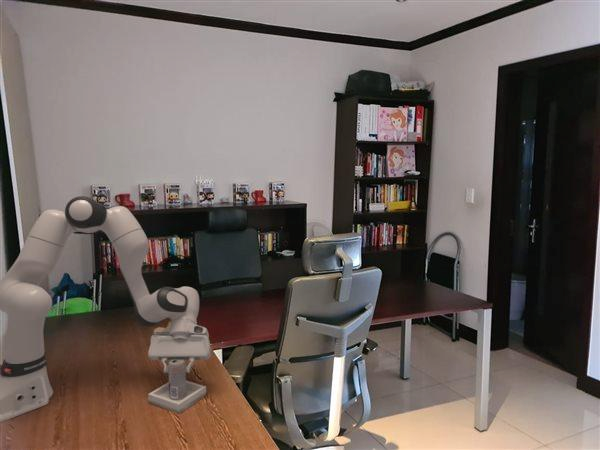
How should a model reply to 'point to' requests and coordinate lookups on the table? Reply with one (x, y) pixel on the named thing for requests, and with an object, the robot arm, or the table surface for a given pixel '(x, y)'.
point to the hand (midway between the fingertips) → (176, 372)
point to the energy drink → (177, 379)
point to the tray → (163, 400)
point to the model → (163, 328)
